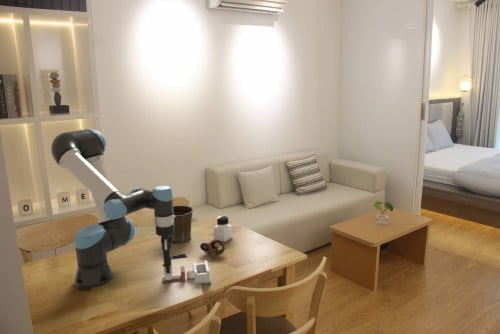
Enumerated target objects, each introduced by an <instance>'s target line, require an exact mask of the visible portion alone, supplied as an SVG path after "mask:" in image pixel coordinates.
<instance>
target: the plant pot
mask: <svg viewBox="0 0 500 334" xmlns="http://www.w3.org/2000/svg"><path fill="white" fill-rule="evenodd" d="M193 211H194V208H193V207H191V206H189V205H173V214H174V215H173V216H175V218H174V227H175V232H174V234H172V235H169V236H171V244H172V243H173V244H174V243H176V244H183V243H186V242H188V241H189V240H190V239H191V238H192V218H193Z"/></svg>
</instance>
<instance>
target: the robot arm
mask: <svg viewBox="0 0 500 334" xmlns="http://www.w3.org/2000/svg"><path fill="white" fill-rule="evenodd" d="M50 148H51V149H50V150H51V152H50V153H51V155H52V157H53V160H54V161H55V163H57V165H59V166H60V167H61V168H62V169H66V170H67V171H68V172H70V173H71V174H72V175H73V177H75V178H76V179H77V180H78V181H79V183H80V184H82V185H83V186H84V187H85V188H86V189H88V191H89V192H90V193H91V196H92V199H93V202H94V205H95V208H96V211H97V214H98V217H99V219H98V220H97V224H91V225H86V226H84V227H82V228H80V229H79V230H77V232H76V233H75V234H74V247H75V254H76V262H77V264H76V265H77V268H76V272H75V276H74V285H75V288H76V289H78V290H82V291H91V290H92V288H97V287H101V286H104V285H105V284H107V283H108V282H111V280H112V279H113V277H114V272H113V271H112V268H111V266H110V264H109V263H108V262H109V261H108V258H107V257H108V256H107V254H108V253H110V252H112V251H114V250H116V249H118V248H120V247H123V246H125V245H127V244H129V243H130V242H131V241H132V240H133V239H134V237H135V233H136V232H135V225H134V223H133V221H132V219H131V218H129V217H127V216H128V215H130V214H132V213H135V212H138V211H141V210H143V209H150V210H153V211H154V225H155V226H154V227H155V234H156V235H157V236H158V237H160V244H161V249H162V251H163V252H162V253H163V256H164V259H163V264H162V267H163V269H165V274H164V277H165V280H172V276H173V272H171V266H172V262H171V263H170V254H171V248H172V247H171V244H172V242H171V236H169V235H172V234H174V232H175V227H174V218H175V216H173V215H174V214H173V206H174V196H173V190H172V188H171V186H169V185H158V186H154V187H153V189H147V188H142V187H136V188H132V190H131V191H129V193H128V194H127V193H126V194H125V195H124V194H123V193H121V192H120V190H119V189H117V188H116V187H115V186H114V185H113V184H112V183H111V182H110V180H109V177H108V174H107V171H106V168H105V166H104V162H103V159H104V157H105V154H104V152H105V151H106V148H107V142H106V140H105V137H104V135H103V134H102V133H101V132H100V131H98V130H97V129H95V128H94V129H93V128H90V129H88V128H87V129H86V128H85V129H80V130H73V131H66V132H61V133H59V134H58V135H56V137H54V139H53V141H52V143H51V147H50ZM171 260H173V259H172V257H171Z"/></svg>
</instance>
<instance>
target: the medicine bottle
mask: <svg viewBox="0 0 500 334" xmlns="http://www.w3.org/2000/svg"><path fill="white" fill-rule="evenodd" d="M232 238H233V225H232V224H229V217H228V216H226V215H220V216H217V218H216V225H215V226H213V240H220V241H221V242H223V243H225V242H226V241H228V240H231V239H232Z"/></svg>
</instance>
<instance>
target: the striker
mask: <svg viewBox="0 0 500 334" xmlns="http://www.w3.org/2000/svg"><path fill="white" fill-rule="evenodd" d="M171 256H172V255H171V253H170V263H171V264H172V259H171ZM163 260H164V256H163ZM172 268H173V267H172V265H171V272H172V271H173V270H172ZM163 269H164V268H163ZM185 270H186V269H185V266H183V265H182V266H180V275H174V276H173V275H172V280H165V276H164V277H162V281H161V282H162V283H169V282H171V283H172V282H177V281H178V282H179V281H181V283H182V282H184V283H185V282H186V271H185ZM163 273H164V275H165V269H164V270H163ZM172 273H173V272H172Z"/></svg>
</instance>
